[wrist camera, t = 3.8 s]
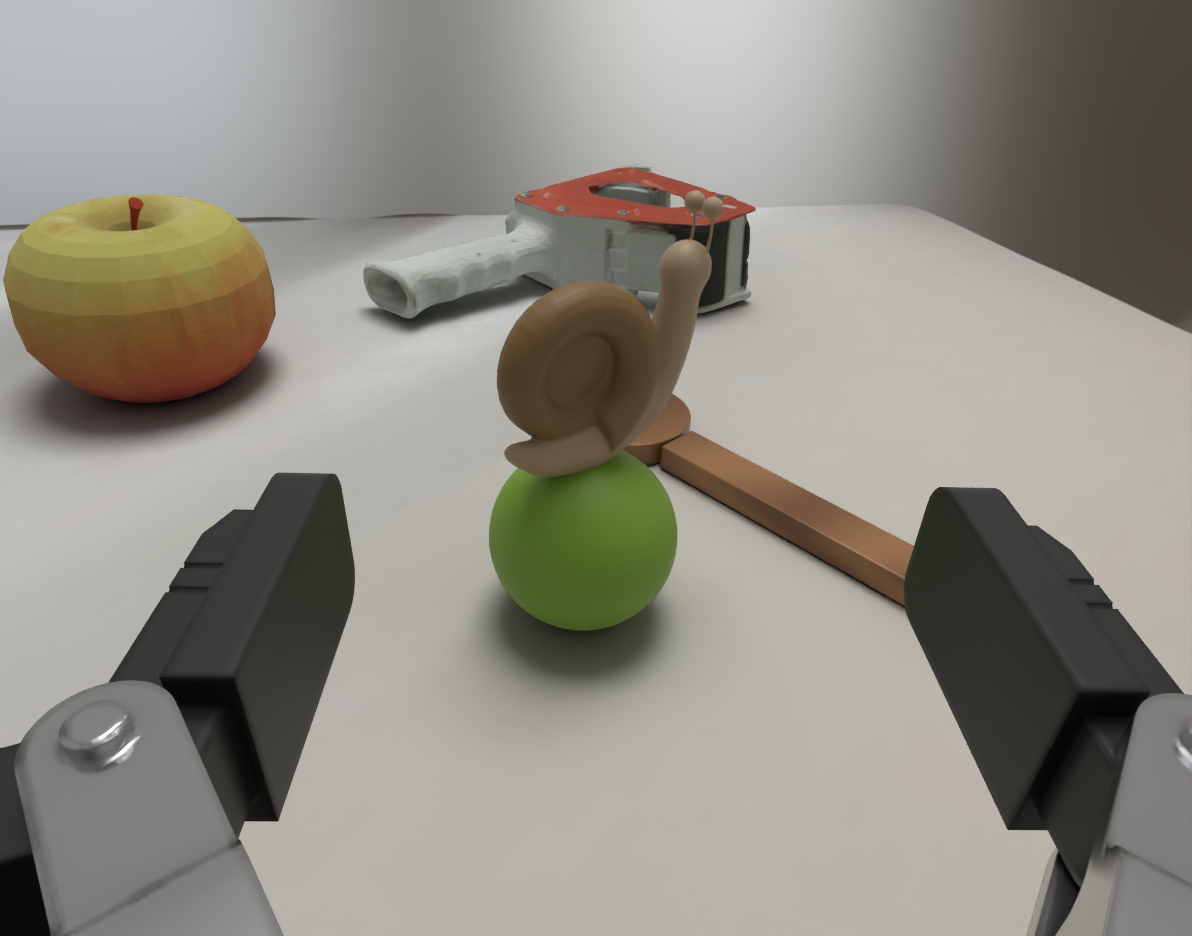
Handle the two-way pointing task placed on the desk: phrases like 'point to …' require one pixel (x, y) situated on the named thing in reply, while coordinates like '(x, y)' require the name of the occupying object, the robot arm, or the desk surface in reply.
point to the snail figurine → (593, 442)
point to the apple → (140, 296)
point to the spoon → (775, 502)
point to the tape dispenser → (578, 244)
